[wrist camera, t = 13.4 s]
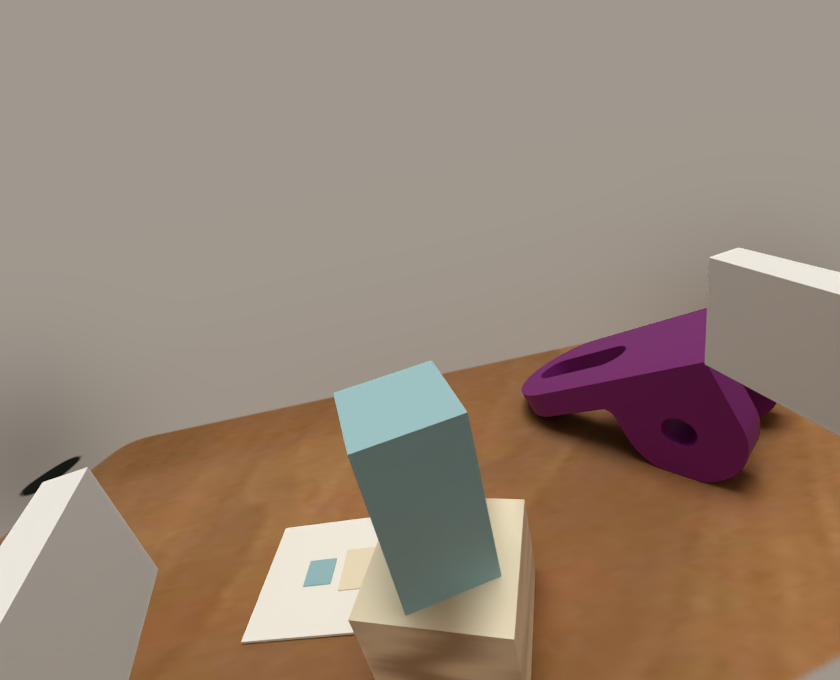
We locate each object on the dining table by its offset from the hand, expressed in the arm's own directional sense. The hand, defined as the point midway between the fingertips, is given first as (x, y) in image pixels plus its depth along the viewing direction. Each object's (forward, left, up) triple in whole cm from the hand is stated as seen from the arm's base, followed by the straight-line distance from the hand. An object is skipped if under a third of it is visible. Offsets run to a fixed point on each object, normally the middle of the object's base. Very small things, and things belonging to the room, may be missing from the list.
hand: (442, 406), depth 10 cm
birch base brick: (-6, +8, -22) cm, 24 cm away
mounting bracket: (+6, +28, -22) cm, 36 cm away
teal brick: (-6, +8, -16) cm, 19 cm away
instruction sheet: (-15, +11, -22) cm, 28 cm away
